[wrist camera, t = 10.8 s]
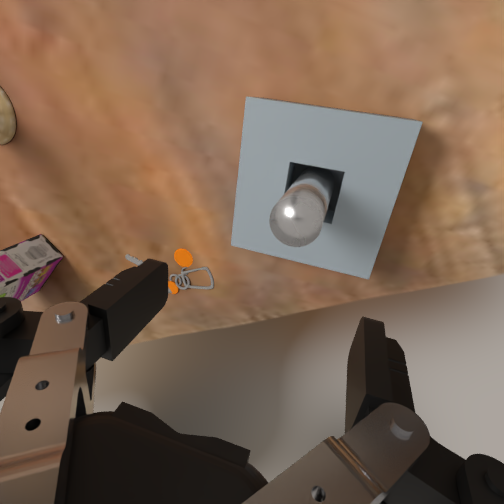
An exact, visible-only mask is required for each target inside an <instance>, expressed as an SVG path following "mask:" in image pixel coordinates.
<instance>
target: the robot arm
mask: <svg viewBox="0 0 504 504" xmlns="http://www.w3.org/2000/svg"><path fill="white" fill-rule="evenodd" d="M167 298H168V265H167V263H165V262H161V261H157V260H153V259H147V260H146V261H144V262H143V263H142V264H140V265H139V266H138V267H132V268H129V269H126V270H124V271H122V272H120V273H119V274H118V275H116V276H115V277H114V278H113V279H111V280H109V281H108V282H107V283H106V284H104V285H102V286H101V287H100V288H98V289H97V290H96V291H94V292H93V293H91V294H90V295H89V296H87V297H86V298H85V299H83V300H82V301H80V302H63V303H59V304H56V305H53V306H51V307H50V308H48V309H47V310H45V311H44V312H33V311H23V308H22V304H21V301H20V300H18V299H16V298H13V297H0V401H1V400H2V399H3V398H4V397H6V398H5V401H4V404H3V407H2V410H1V413H0V504H504V464H503V463H502V462H500V461H498V460H496V459H495V458H492V457H490V456H487V455H483V454H473V455H471V456H469V457H468V458H467V460H465V459H463V458H462V457H460V456H458V455H457V454H455V453H453V452H452V451H450V450H448V449H447V448H445V447H444V446H442V445H441V444H439V443H438V442H436V441H435V440H434V439H433V438H431V436H430V434H429V431H428V428H427V426H426V425H425V423H424V422H423V420H422V419H421V418H420V417H419V416H418V415H417V414H416V413H415V409H414V403H413V398H412V392H411V387H410V382H409V376H408V371H407V366H406V361H405V355H404V351H403V350H402V348H401V347H400V345H399V344H398V342H397V341H396V340H394V339H391V338H387V337H386V336H385V328H384V323H383V322H381V321H377V320H373V319H370V318H366V317H362V318H361V320H360V323H359V325H358V328H357V331H356V334H355V337H354V340H353V342H352V345H351V348H350V352H349V356H348V364H347V390H346V417H345V434H344V435H343V436H341V437H340V438H339V439H336V438H335V437H334V436H331V437H328V438H327V439H325V440H324V441H322V442H321V443H320V444H318V445H317V446H316V447H315V448H313V449H312V450H311V451H309V452H308V453H307V454H305V455H304V456H303V457H301V458H300V459H299V460H298V461H296V462H295V463H294V464H292V465H291V466H290V467H289V468H287V469H286V470H285V471H283V472H282V473H281V474H280V475H278V476H277V477H276V478H274V479H273V480H272V481H270V482H269V483H268V482H267V480H266V479H265V478H264V477H263V476H262V474H261V473H260V472H259V471H258V470H257V469H256V468H254V467H253V466H252V465H251V464H249V463H248V460H249V455H250V450H248V449H245V448H243V447H240V446H237V445H234V444H232V443H230V442H227V441H224V440H222V439H219V438H215V437H206V436H197V435H187V434H180V433H178V432H176V431H174V430H173V429H172V428H171V427H169V426H168V425H167V424H165V423H164V422H163V421H162V420H160V419H159V418H158V417H156V416H155V415H154V414H152V413H151V412H148V411H146V410H143V409H140V408H138V407H135V406H133V405H130V404H127V403H125V402H122V403H121V404H120V405H119V406H118V408H117V409H116V410H115V412H112V411H109V412H97V413H94V412H93V411H94V410H93V409H94V393H95V380H96V361H97V360H98V359H99V358H100V357H102V358H105V359H108V360H111V361H113V360H114V359H115V358H116V357H117V356H118V355H119V354H120V353H121V351H123V349H124V348H125V347H126V346H127V345H128V344H129V343H130V342H131V341H132V340H133V339H134V338H135V337H136V336H137V335H138V333H139V332H140V331H141V330H142V329H143V328H144V327H145V326H146V325H147V324H148V323H149V322H150V321H151V320H152V319H153V318H154V316H155V315H156V314H157V313H158V312H159V311H160V310H161V309H162V308H163V307H164V305H165V303H166V301H167Z"/></svg>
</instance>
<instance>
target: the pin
mask: <svg viewBox="0 0 504 504" xmlns="http://www.w3.org/2000/svg"><path fill="white" fill-rule="evenodd" d="M333 189H334V178H333V176H332V174H331V173H330V171H329V170H327V169H326V168H321V167H316V166H312V167H309V168H307V169H306V170H304V171H303V172H302V173H301V175H300V176H299V177H298V178H297V179H296V181H295V182H294V183H293V184H292V185H291V187H290V188H289V189H288V190H287V191H286V193H285V194H284V195H283V196H282V197H281V199H280V200H279V201H278V202H277V203H276V205H275V206H274V207H273V209H272V211H271V213H270V218H269V224H270V228H271V231H272V233H273V234H274V236H275V237H276V238H277V239H278V240H279V241H280V242H282V243H283V244H285V245H288V246H291V247H302V246H306V245H308V244H310V243H312V242H313V241H314V240H315V239H316V238H317V237H318V236H319V234H320V232H321V229H322V225H323V222H324V219H325V215H326V212H327V209H328V205H329V202H330V199H331V195H332V192H333Z"/></svg>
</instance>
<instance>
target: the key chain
mask: <svg viewBox="0 0 504 504" xmlns="http://www.w3.org/2000/svg"><path fill="white" fill-rule="evenodd" d="M125 257H126V259H127V260H129V261H131V262H133V263H135V264H137V265H138V266H139V265H140V264H142V263H143V262H142V260H141V261H140V260H139V261H138V259H137V258H136V257H135V258H134V257H133V256H132V257H131V256H130V255H129V254H128V255H126V256H125ZM174 258H175V261H176V262H177V263H178V264H179V265H180V266H183V267H184V268H187V267H189V266H190V265H191V264H192V262H193V258H192V255H191V254H190V253H189V252H188V251H187V250H186V249H178V250H176V251H175V253H174ZM184 268H182V272H181V274H179V275H176V274H172V275H170V281H168V293H170V292H171V293H172V294H176V293H177V292H178V290H179V288H180V289H183V290H185V289H187V288H196V289H213V288H214V280H213V277H212V274H211V272H210V270H209V269H208V268H207V267H202V268H198V269H194V270H189V271H183V269H184ZM201 269H202V270H206V271H207V272H208V274H209V276H210V279H211V286H208V287H205V286H191V285H190V281H189V278H188V277H187V276H186V274H188V272H193V271H197V270H201ZM184 274H185V275H184ZM172 276H176V278H175V282H173V281H172ZM180 276H182V280H183V283H184V285H185V287H181V286H179V285H181V284H182V280H181V278H180ZM184 277H185V278H186V279H187V282H188V284H186V281H185V278H184ZM178 278H179V280H180V283H179V284H178V282H177V279H178Z"/></svg>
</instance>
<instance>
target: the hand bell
mask: <svg viewBox="0 0 504 504" xmlns="http://www.w3.org/2000/svg"><path fill="white" fill-rule="evenodd" d="M15 130H16V117H15V113H14V109H13V106H12V104H11V101H10V99H9V98H8V96H7V95H6V93H5V91H4V90H3V89H2V88H1V87H0V145H3V144H6V143H8V142H9V141H11V139H12V138H13V136H14V134H15Z"/></svg>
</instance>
